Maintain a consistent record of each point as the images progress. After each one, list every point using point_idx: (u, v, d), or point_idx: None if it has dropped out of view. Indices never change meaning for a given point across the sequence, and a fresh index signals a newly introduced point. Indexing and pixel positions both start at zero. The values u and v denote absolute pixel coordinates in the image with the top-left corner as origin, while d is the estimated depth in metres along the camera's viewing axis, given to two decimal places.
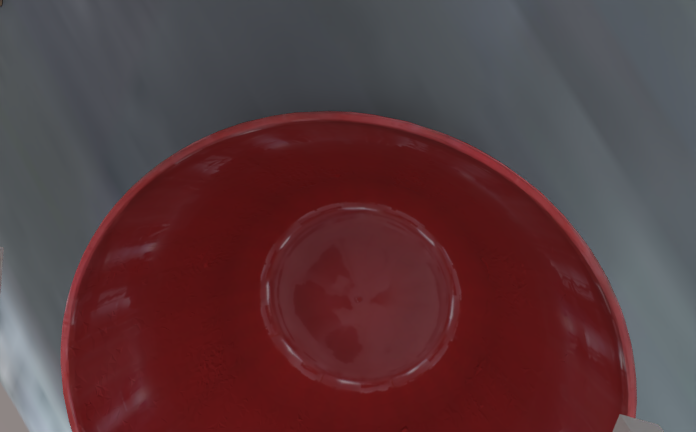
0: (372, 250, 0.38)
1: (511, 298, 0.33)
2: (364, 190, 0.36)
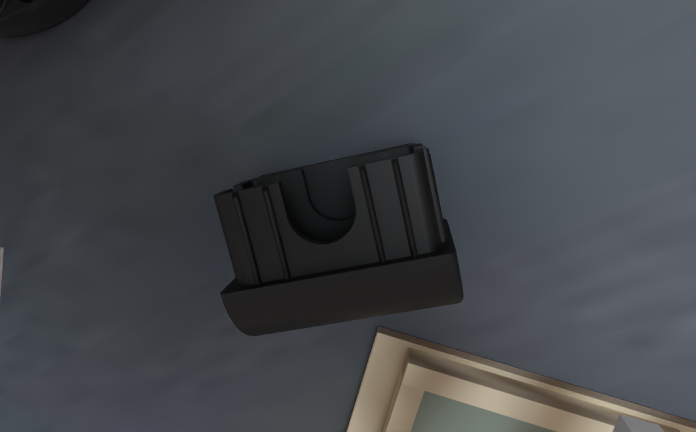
0: None
1: None
2: None
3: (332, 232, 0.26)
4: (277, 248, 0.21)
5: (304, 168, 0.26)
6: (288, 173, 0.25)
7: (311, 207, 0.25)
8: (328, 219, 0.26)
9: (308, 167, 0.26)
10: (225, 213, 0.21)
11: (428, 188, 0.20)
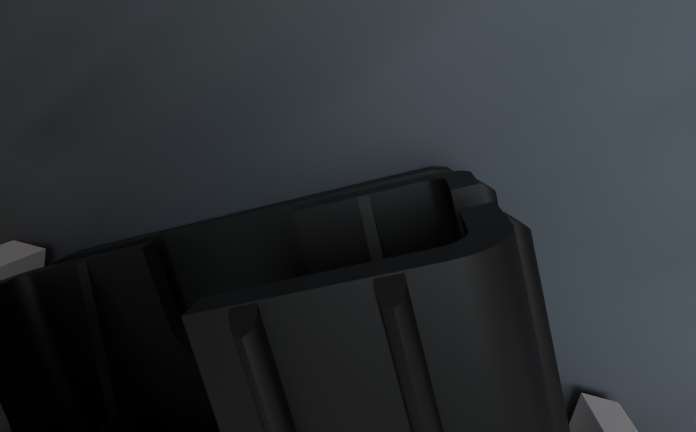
0: None
1: None
2: None
3: None
4: None
5: (167, 236, 0.10)
6: (110, 258, 0.09)
7: (178, 343, 0.10)
8: None
9: (176, 233, 0.10)
10: None
11: (540, 392, 0.05)
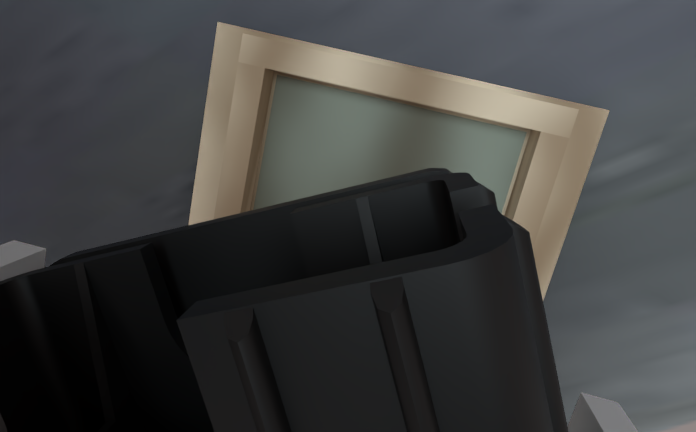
0: None
1: None
2: None
3: None
4: None
5: (165, 237, 0.10)
6: (107, 259, 0.09)
7: (176, 345, 0.10)
8: None
9: (174, 235, 0.10)
10: None
11: (540, 397, 0.05)
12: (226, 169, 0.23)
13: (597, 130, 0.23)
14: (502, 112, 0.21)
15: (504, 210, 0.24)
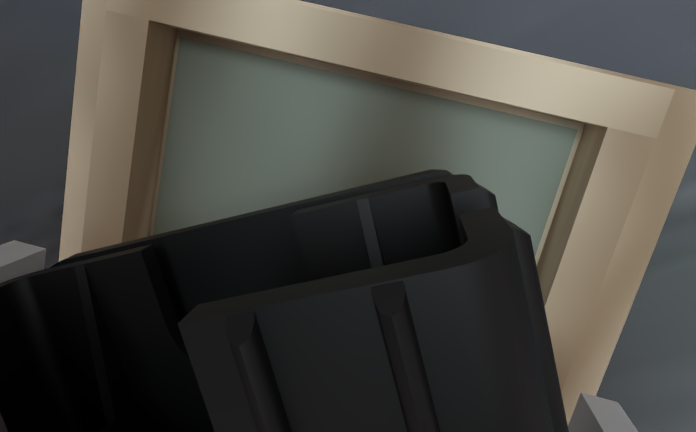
0: None
1: None
2: None
3: None
4: None
5: (165, 239, 0.10)
6: (108, 261, 0.09)
7: (176, 346, 0.10)
8: None
9: (175, 236, 0.10)
10: None
11: (541, 400, 0.05)
12: (95, 185, 0.15)
13: (693, 127, 0.14)
14: (542, 94, 0.13)
15: (539, 252, 0.15)
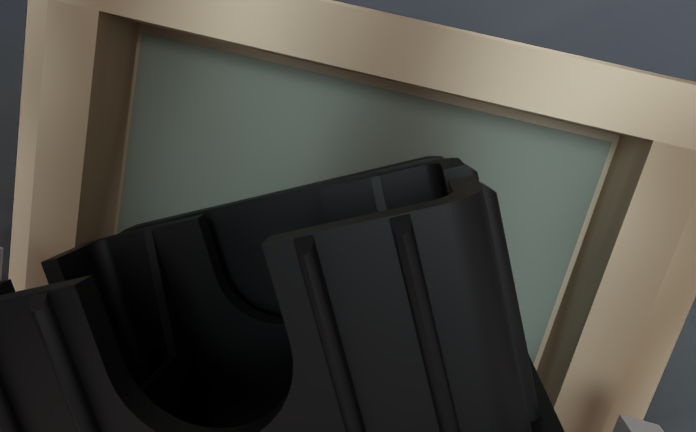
0: None
1: None
2: None
3: (270, 347, 0.12)
4: None
5: (213, 211, 0.13)
6: (171, 226, 0.12)
7: (224, 296, 0.12)
8: (261, 319, 0.12)
9: (220, 209, 0.13)
10: None
11: (500, 297, 0.07)
12: (40, 207, 0.12)
13: None
14: (573, 100, 0.10)
15: (564, 286, 0.13)
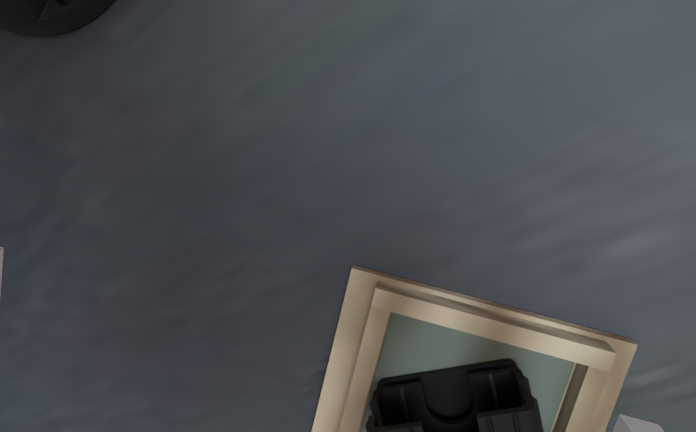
0: None
1: None
2: None
3: None
4: None
5: (420, 377, 0.33)
6: (411, 387, 0.32)
7: (429, 413, 0.32)
8: (442, 422, 0.32)
9: (423, 376, 0.32)
10: None
11: None
12: (356, 376, 0.32)
13: (628, 357, 0.31)
14: (561, 351, 0.30)
15: (559, 408, 0.32)
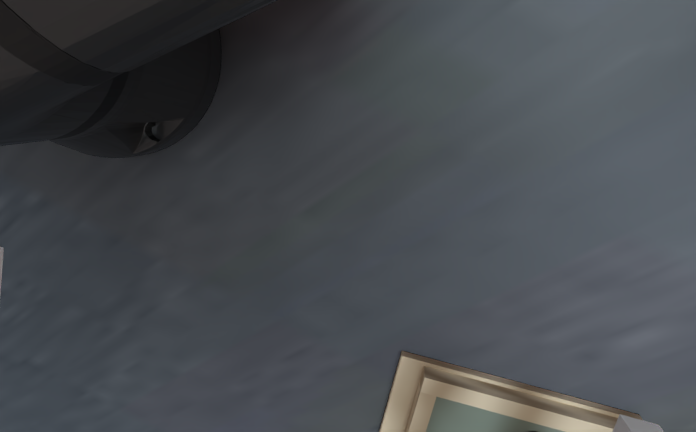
0: None
1: None
2: None
3: None
4: None
5: None
6: None
7: None
8: None
9: None
10: None
11: None
12: None
13: None
14: (580, 430, 0.36)
15: None
